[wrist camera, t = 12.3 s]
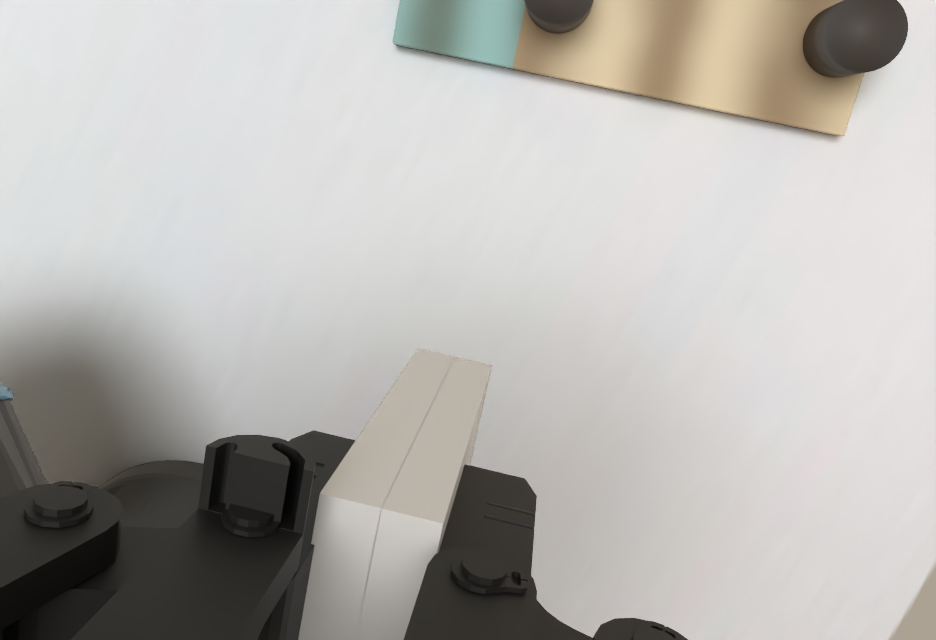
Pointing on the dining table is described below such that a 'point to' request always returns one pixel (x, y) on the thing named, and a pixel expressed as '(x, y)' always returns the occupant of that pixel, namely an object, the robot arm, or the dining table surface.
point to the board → (679, 48)
